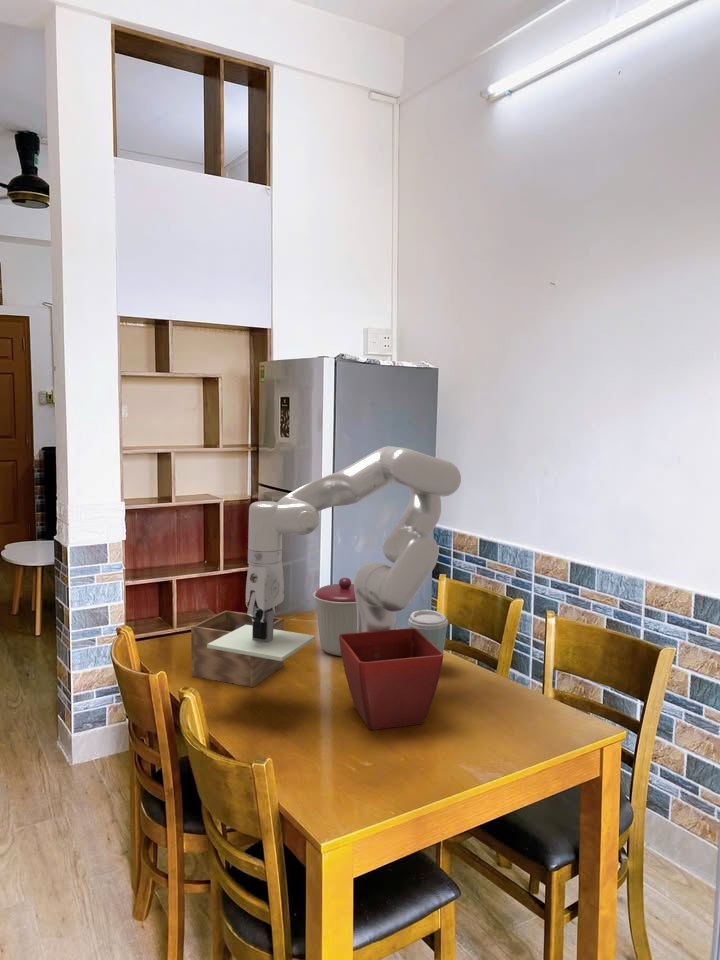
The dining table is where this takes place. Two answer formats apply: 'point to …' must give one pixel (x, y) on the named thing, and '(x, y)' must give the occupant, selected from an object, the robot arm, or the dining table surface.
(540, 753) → the dining table surface
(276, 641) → the lid
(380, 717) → the plant pot
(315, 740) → the dining table surface
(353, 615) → the canister
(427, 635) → the disposable coffee cup
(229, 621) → the box
